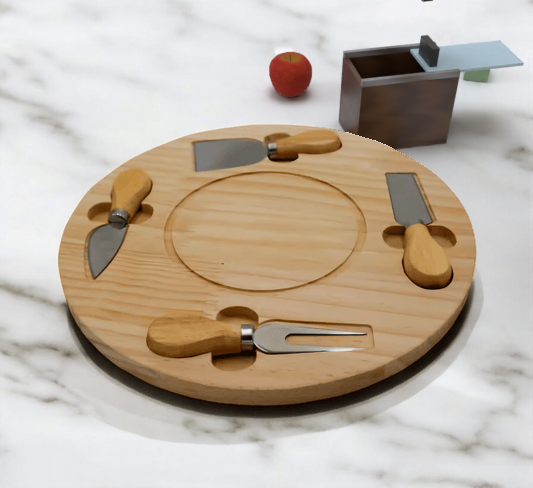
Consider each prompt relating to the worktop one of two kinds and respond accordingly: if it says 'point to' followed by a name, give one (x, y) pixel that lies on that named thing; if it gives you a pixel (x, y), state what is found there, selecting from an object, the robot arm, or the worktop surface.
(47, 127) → the worktop surface
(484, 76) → the block
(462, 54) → the pane
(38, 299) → the worktop surface
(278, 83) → the apple
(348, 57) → the case
